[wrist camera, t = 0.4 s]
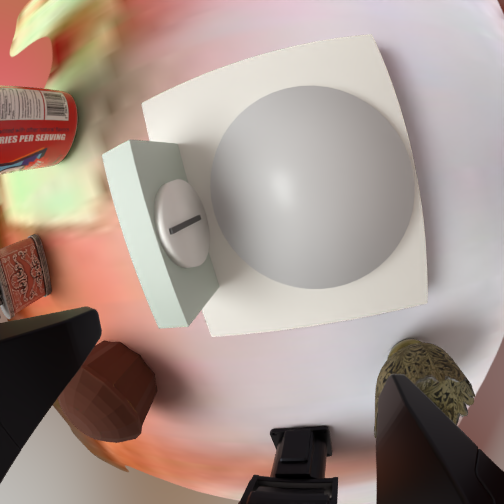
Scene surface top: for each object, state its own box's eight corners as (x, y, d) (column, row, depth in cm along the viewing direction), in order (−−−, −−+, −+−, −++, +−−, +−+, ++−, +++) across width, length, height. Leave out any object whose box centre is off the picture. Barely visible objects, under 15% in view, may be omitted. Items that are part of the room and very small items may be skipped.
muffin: (125, 319, 25) (62, 376, 16) (186, 398, 27) (147, 464, 18) (78, 343, 29) (29, 384, 20) (127, 405, 31) (91, 452, 22)
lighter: (29, 233, 26) (-32, 258, 17) (41, 234, 25) (-24, 261, 16) (41, 291, 29) (-12, 324, 19) (54, 296, 28) (-1, 332, 19)
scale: (417, 288, 18) (454, 346, 11) (221, 321, 23) (184, 381, 16) (366, 48, 14) (388, -8, 7) (158, 108, 18) (90, 91, 11)
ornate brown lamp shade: (442, 304, 18) (484, 365, 10) (441, 368, 19) (466, 430, 12) (359, 330, 20) (371, 404, 13) (369, 390, 22) (376, 459, 14)
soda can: (95, 106, 19) (-51, 101, 5) (66, 178, 22) (-63, 211, 8) (58, 83, 19) (-58, 78, 5) (35, 147, 22) (-74, 165, 8)
